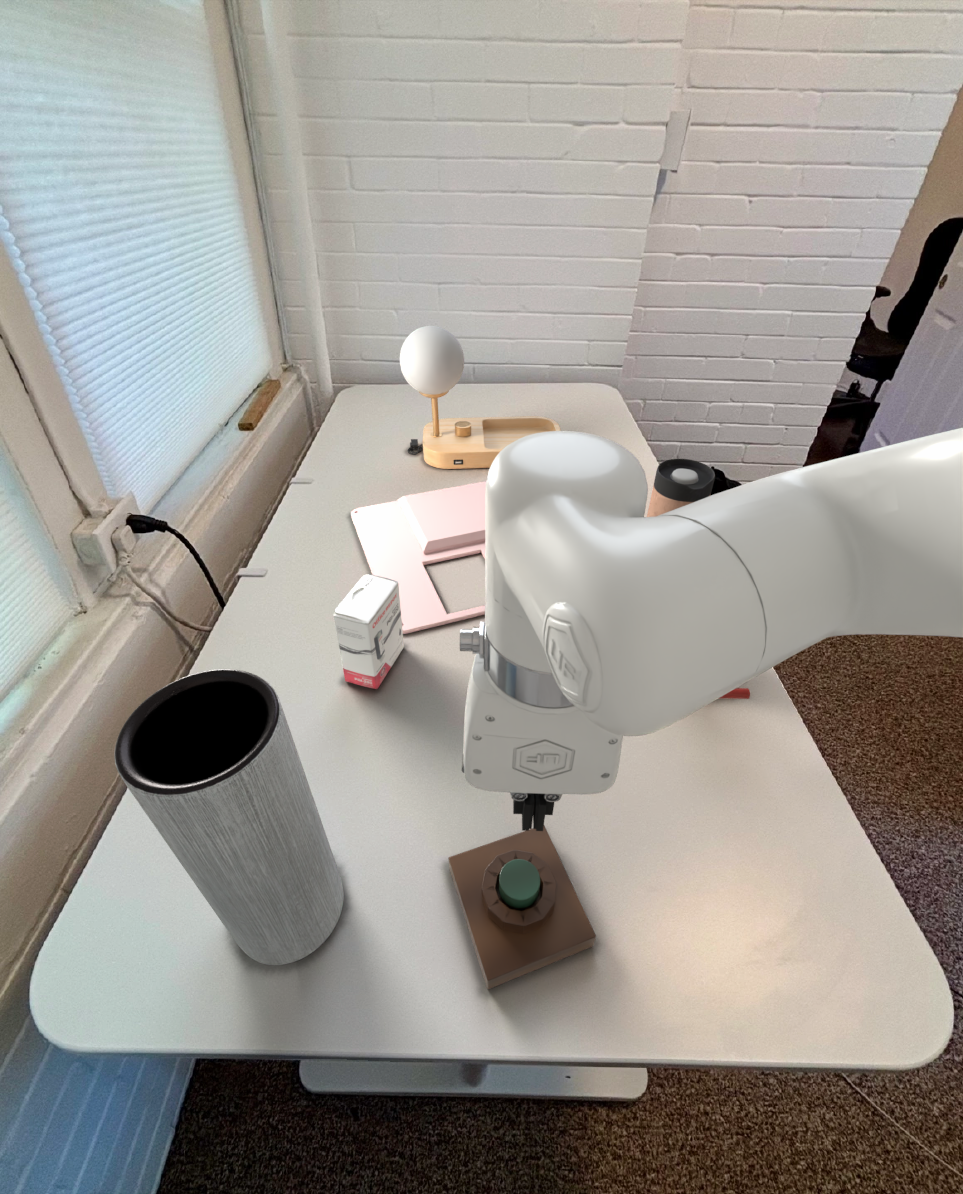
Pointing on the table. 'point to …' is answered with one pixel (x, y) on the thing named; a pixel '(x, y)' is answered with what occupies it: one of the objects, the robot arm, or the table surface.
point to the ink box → (369, 630)
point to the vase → (235, 809)
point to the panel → (423, 546)
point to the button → (519, 883)
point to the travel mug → (679, 485)
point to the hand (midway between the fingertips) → (531, 813)
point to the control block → (513, 934)
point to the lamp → (456, 441)
